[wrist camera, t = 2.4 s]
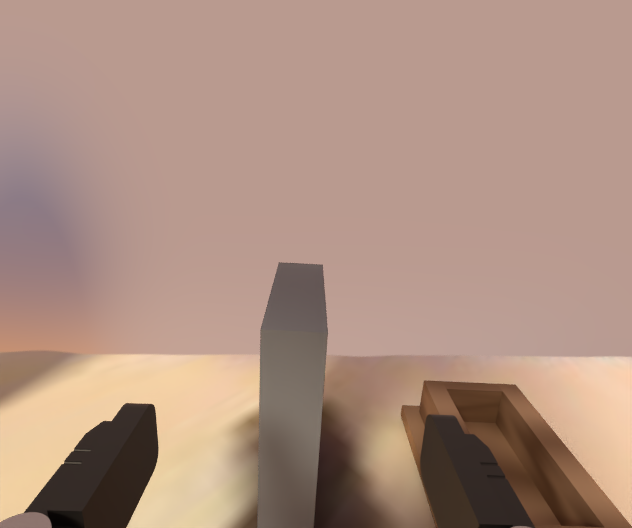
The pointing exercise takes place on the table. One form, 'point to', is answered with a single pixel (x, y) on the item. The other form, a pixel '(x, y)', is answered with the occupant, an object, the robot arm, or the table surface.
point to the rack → (518, 452)
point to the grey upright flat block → (291, 396)
